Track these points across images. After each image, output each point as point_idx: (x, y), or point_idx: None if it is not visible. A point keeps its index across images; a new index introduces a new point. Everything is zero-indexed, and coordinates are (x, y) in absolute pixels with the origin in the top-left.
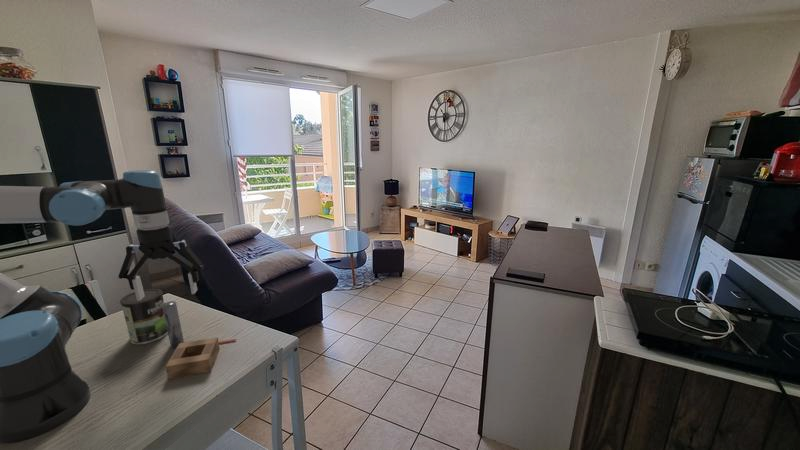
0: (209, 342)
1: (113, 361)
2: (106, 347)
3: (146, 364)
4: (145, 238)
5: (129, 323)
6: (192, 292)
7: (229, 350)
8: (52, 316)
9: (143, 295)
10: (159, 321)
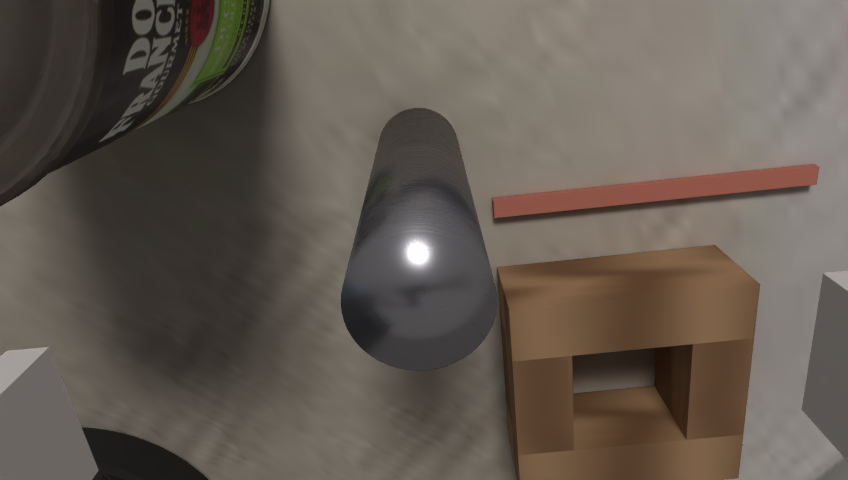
0: (712, 332)
1: (112, 261)
2: None
3: (331, 317)
4: None
5: None
6: (835, 426)
7: (777, 271)
8: None
9: (43, 390)
10: (217, 45)
